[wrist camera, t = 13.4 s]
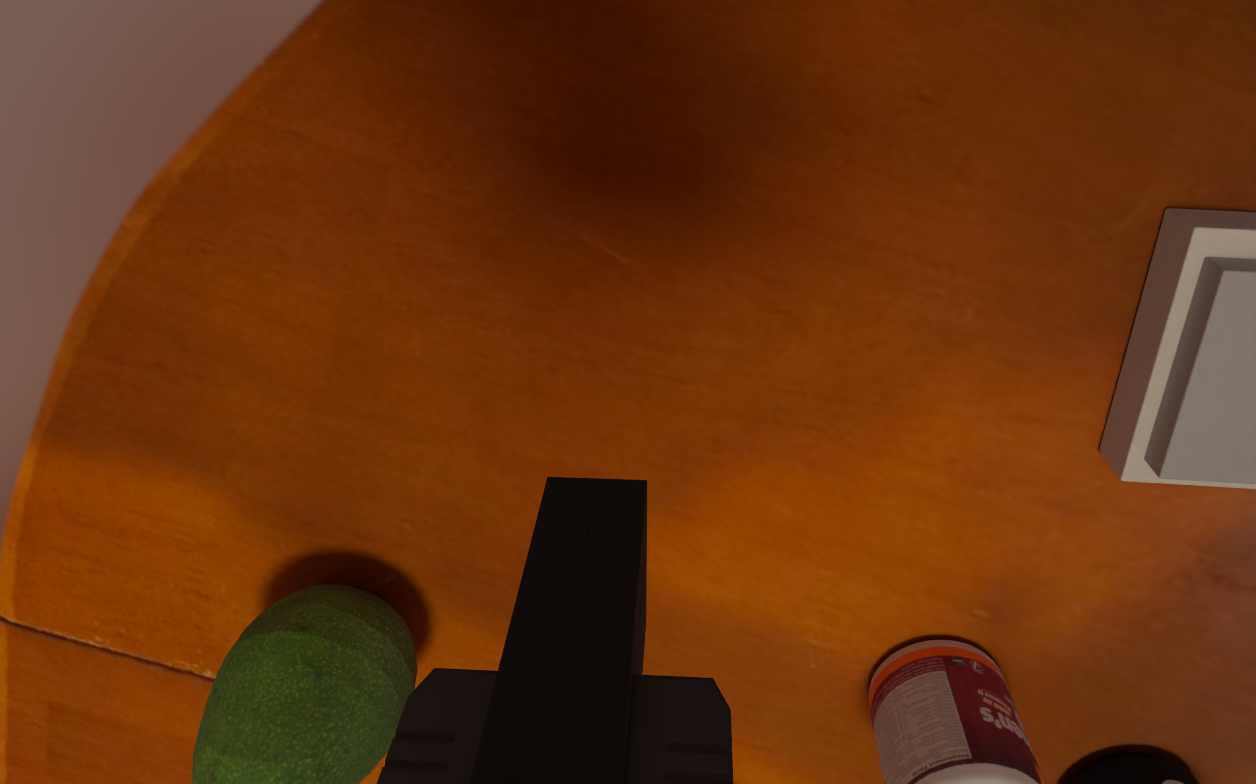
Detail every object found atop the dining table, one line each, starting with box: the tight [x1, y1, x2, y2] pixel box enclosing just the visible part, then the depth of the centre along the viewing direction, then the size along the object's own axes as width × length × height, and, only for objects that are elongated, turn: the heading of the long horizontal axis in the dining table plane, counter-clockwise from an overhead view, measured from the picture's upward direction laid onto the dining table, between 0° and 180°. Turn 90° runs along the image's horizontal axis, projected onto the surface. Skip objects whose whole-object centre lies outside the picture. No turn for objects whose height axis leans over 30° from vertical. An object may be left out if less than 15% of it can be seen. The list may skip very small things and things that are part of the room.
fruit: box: [192, 584, 417, 784], centre depth 41 cm, size 8×8×12 cm
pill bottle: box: [869, 640, 1044, 784], centre depth 41 cm, size 6×6×11 cm
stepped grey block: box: [1099, 208, 1256, 489], centre depth 36 cm, size 10×6×4 cm, turn 178°
